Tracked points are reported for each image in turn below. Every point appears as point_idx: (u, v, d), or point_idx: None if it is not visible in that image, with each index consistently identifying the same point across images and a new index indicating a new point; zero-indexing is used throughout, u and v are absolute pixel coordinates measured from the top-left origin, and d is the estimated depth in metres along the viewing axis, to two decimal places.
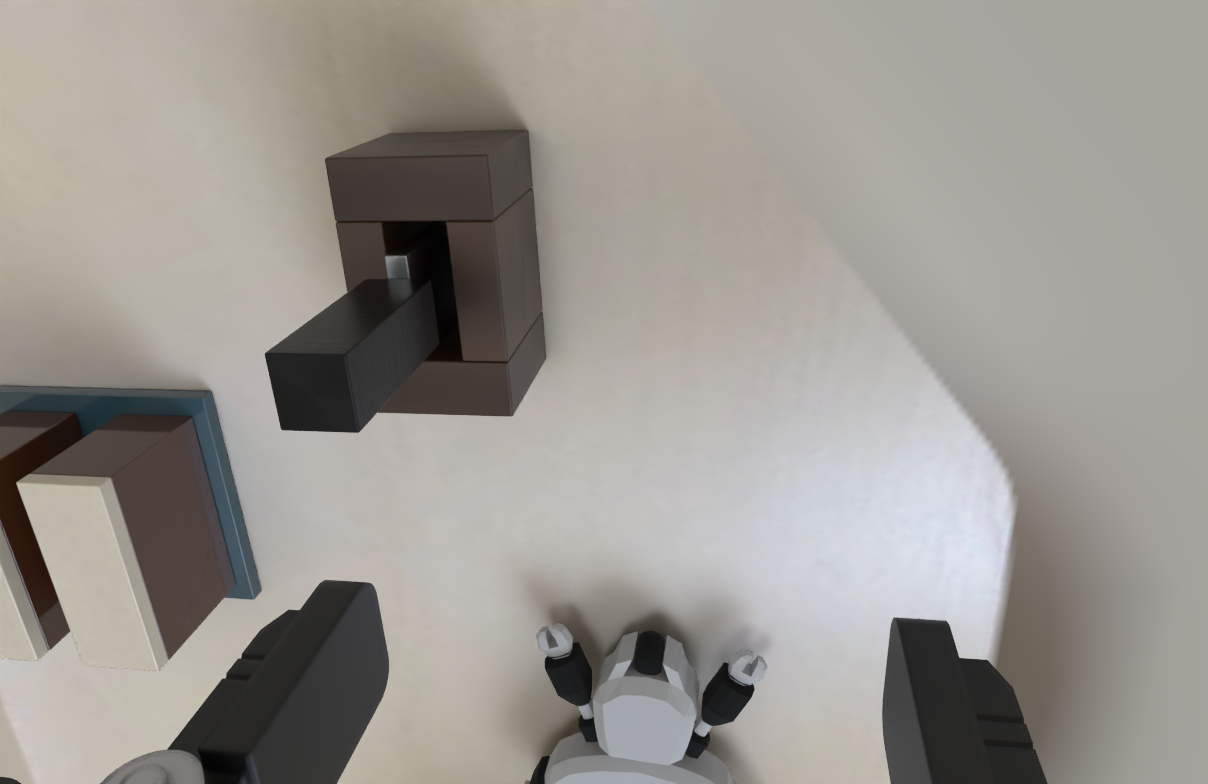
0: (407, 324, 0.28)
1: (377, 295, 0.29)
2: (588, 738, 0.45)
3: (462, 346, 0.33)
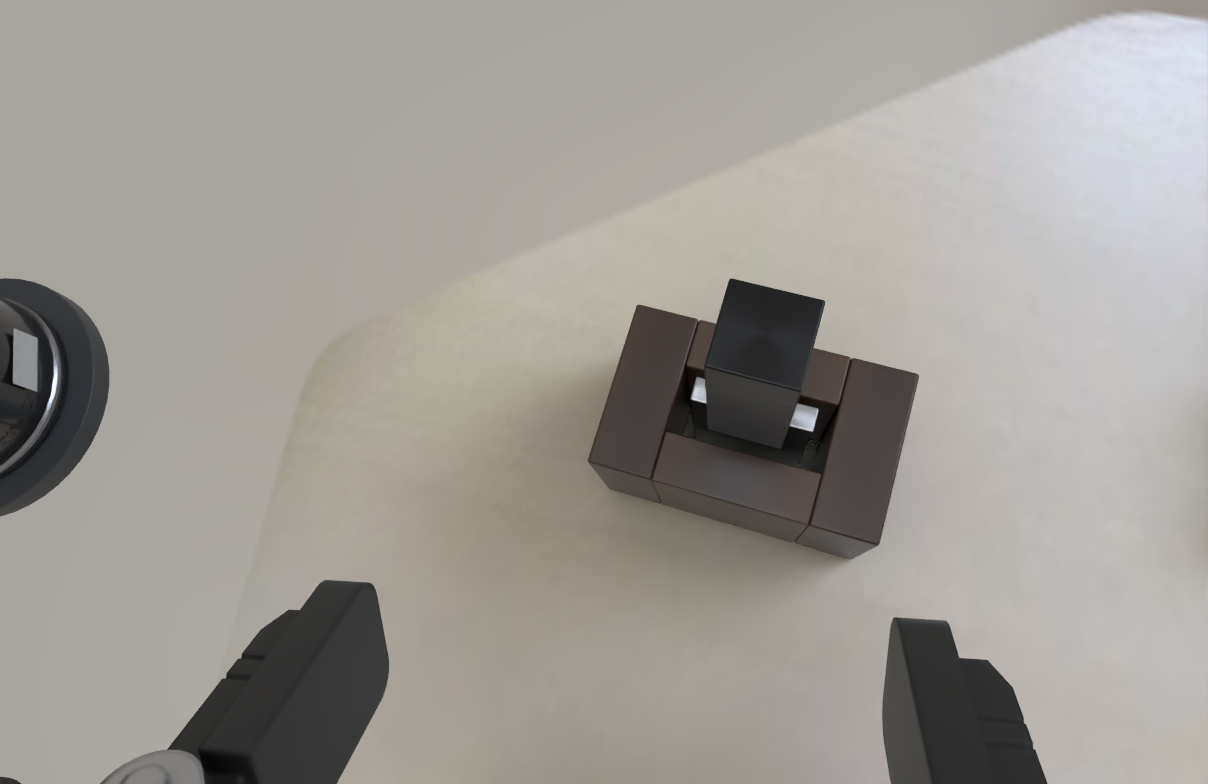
0: None
1: None
2: None
3: (821, 398, 0.30)
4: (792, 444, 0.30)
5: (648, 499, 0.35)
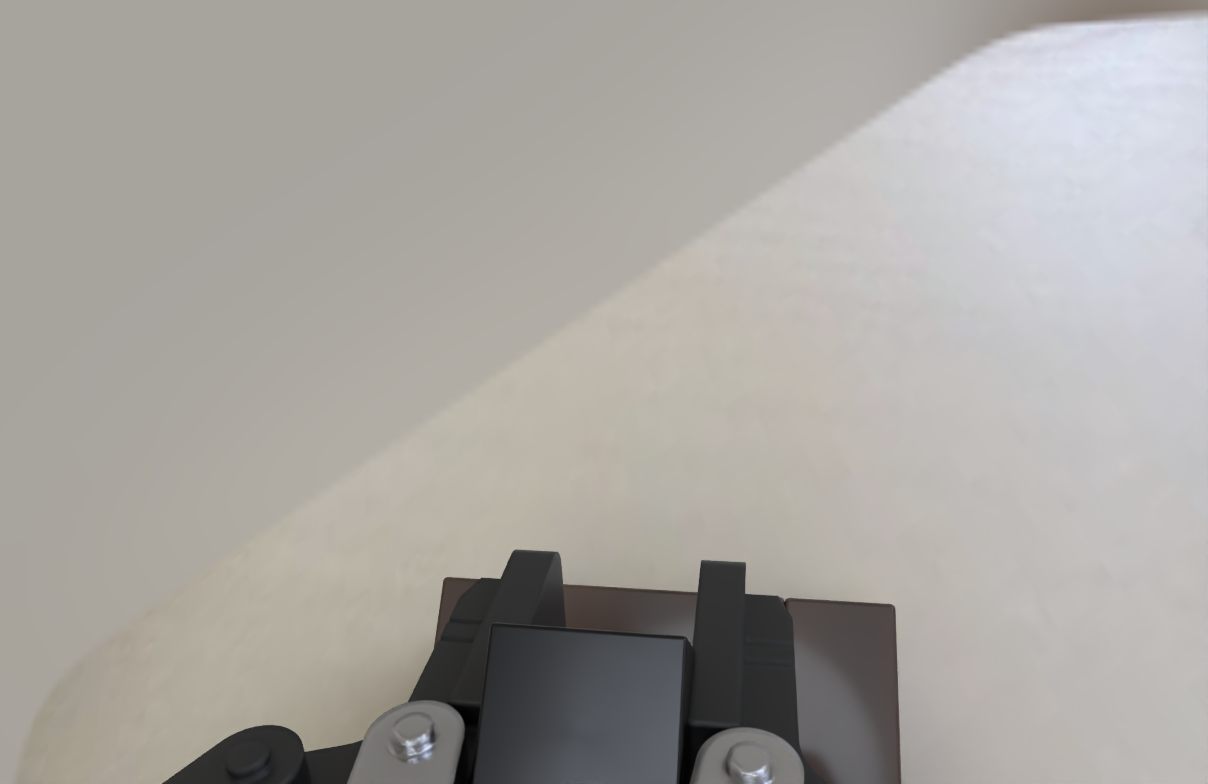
0: None
1: None
2: None
3: None
4: None
5: None
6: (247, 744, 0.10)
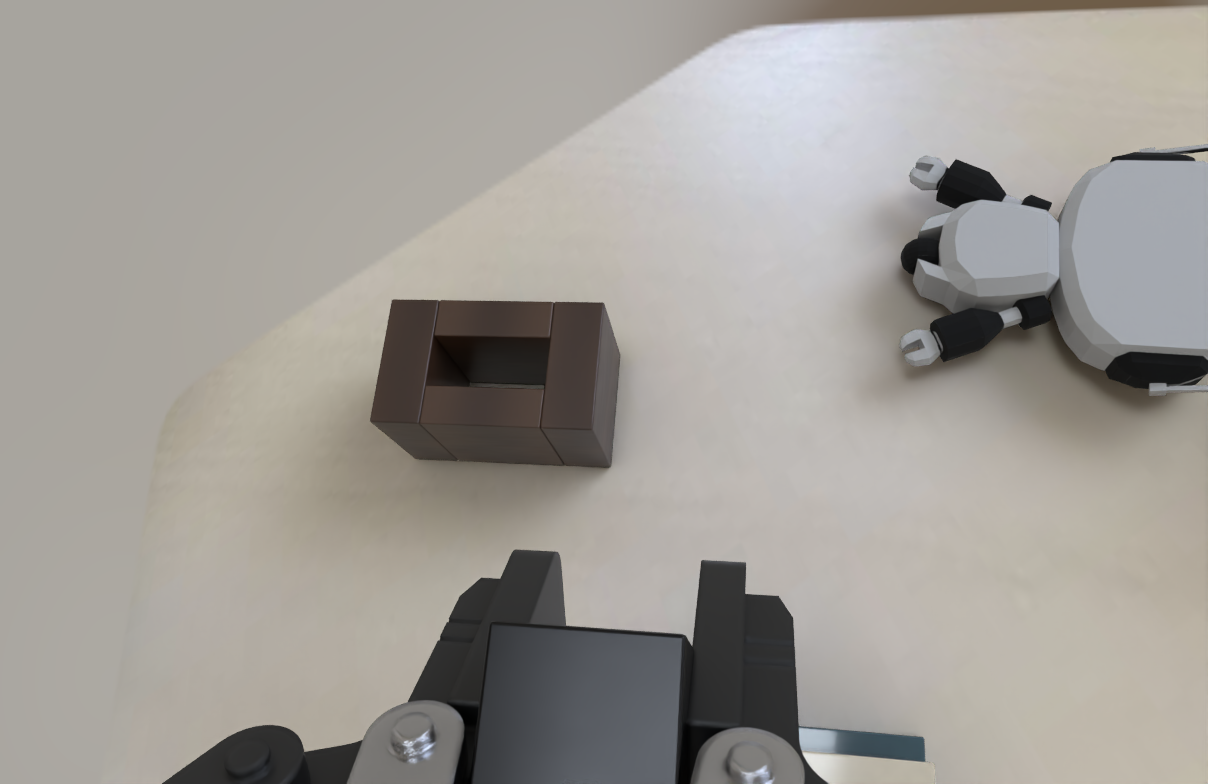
0: None
1: None
2: (1044, 308, 0.39)
3: (536, 335, 0.39)
4: None
5: (446, 459, 0.44)
6: (246, 743, 0.10)
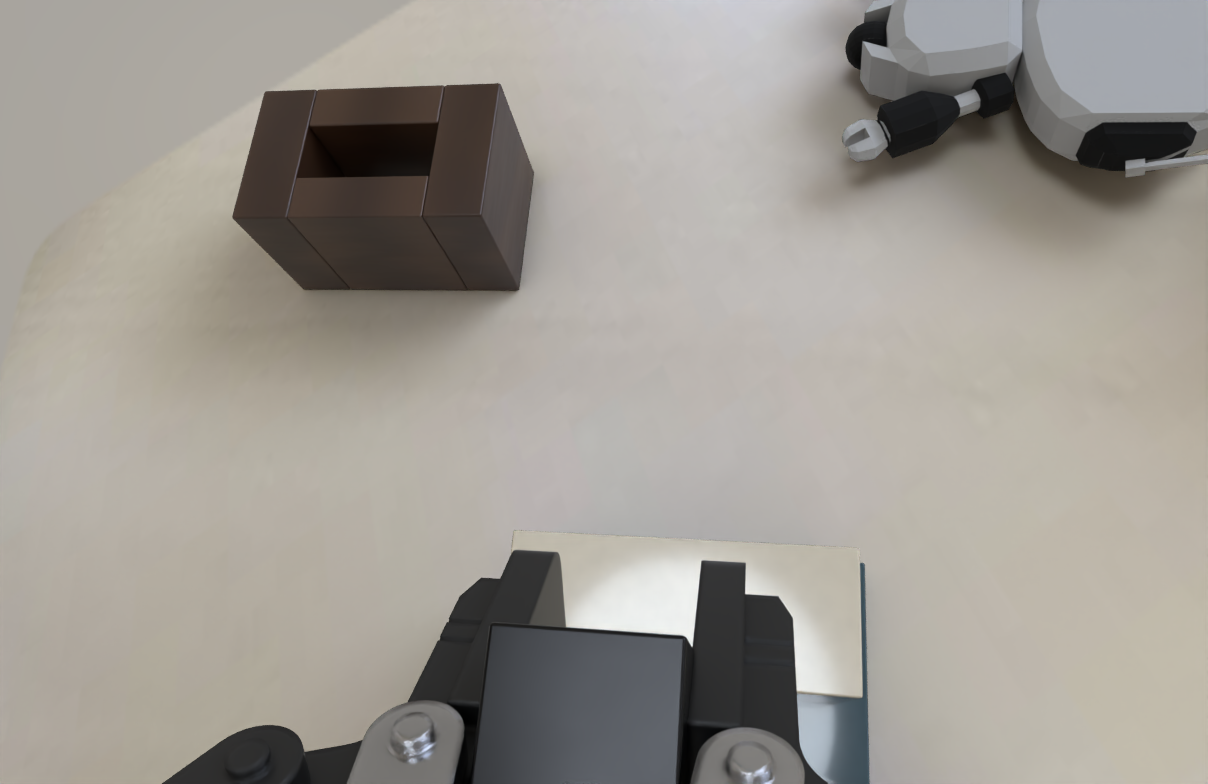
0: None
1: None
2: (1005, 86, 0.34)
3: (422, 120, 0.34)
4: None
5: (336, 286, 0.39)
6: (246, 743, 0.10)
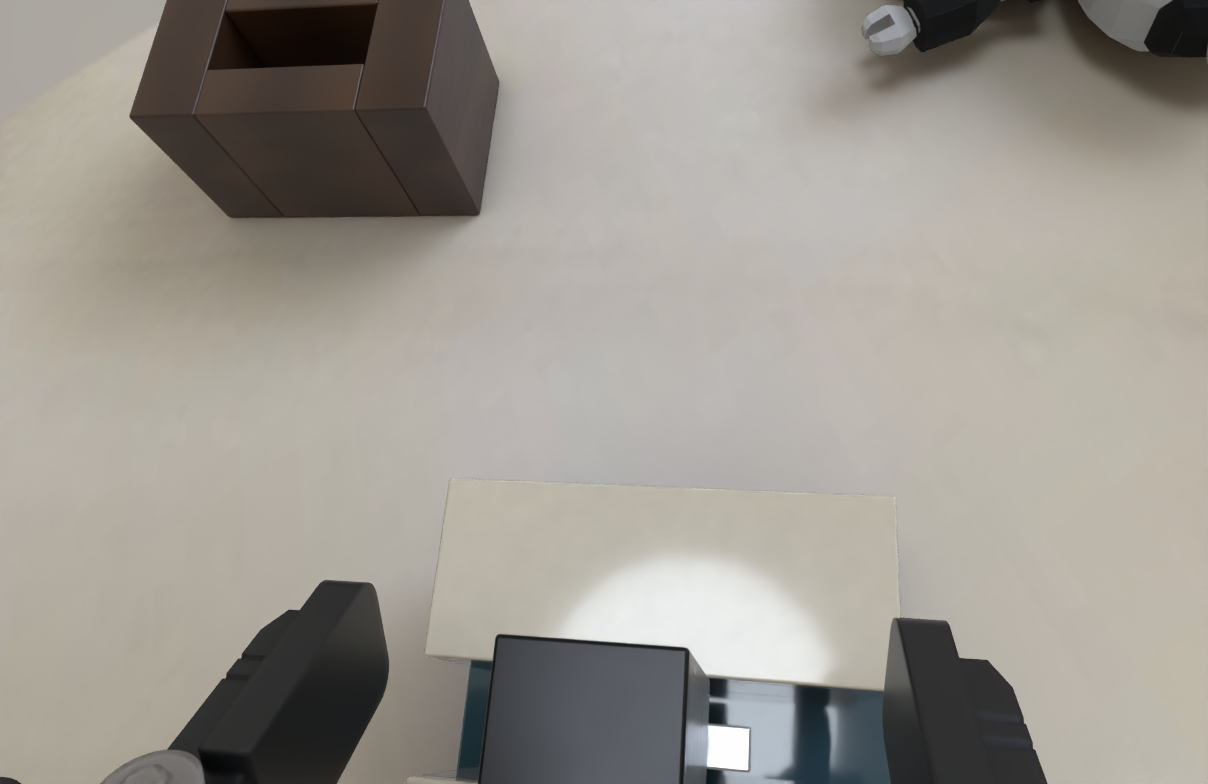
0: None
1: None
2: None
3: (359, 1, 0.28)
4: None
5: (266, 212, 0.33)
6: None
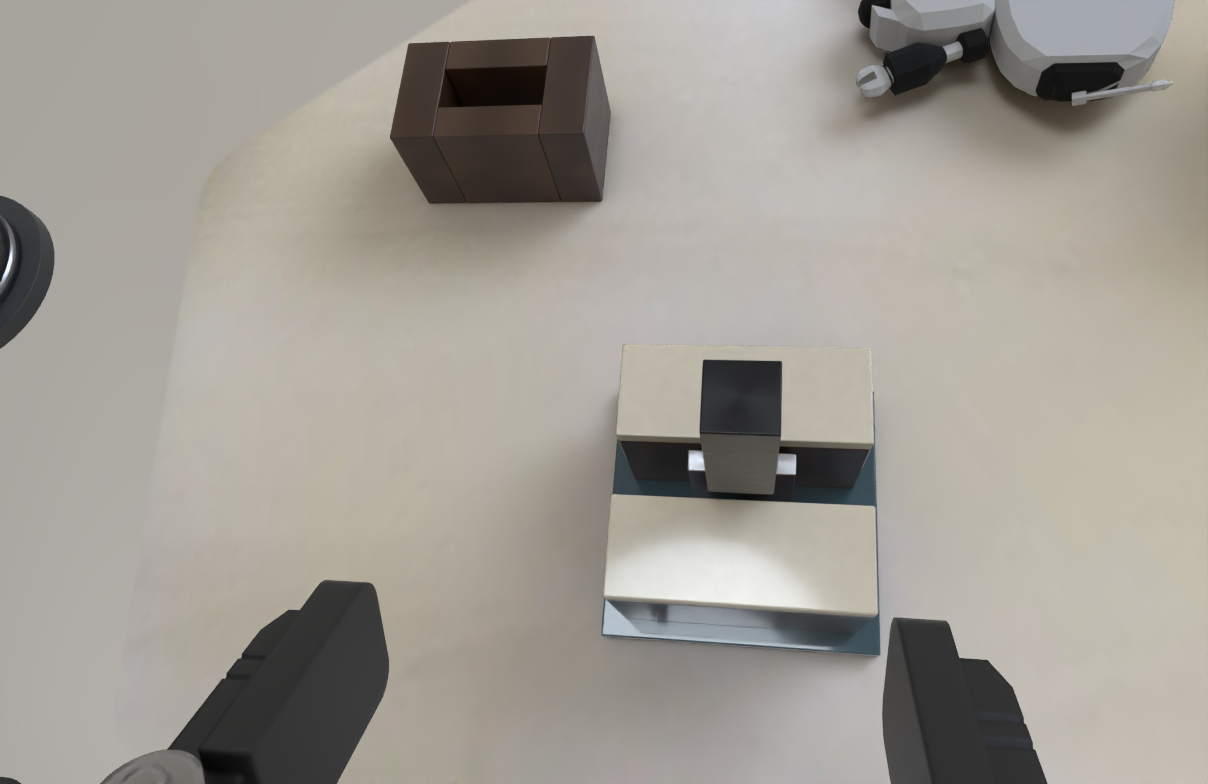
0: None
1: None
2: (981, 38, 0.45)
3: (534, 64, 0.45)
4: (781, 491, 0.35)
5: (456, 200, 0.49)
6: None
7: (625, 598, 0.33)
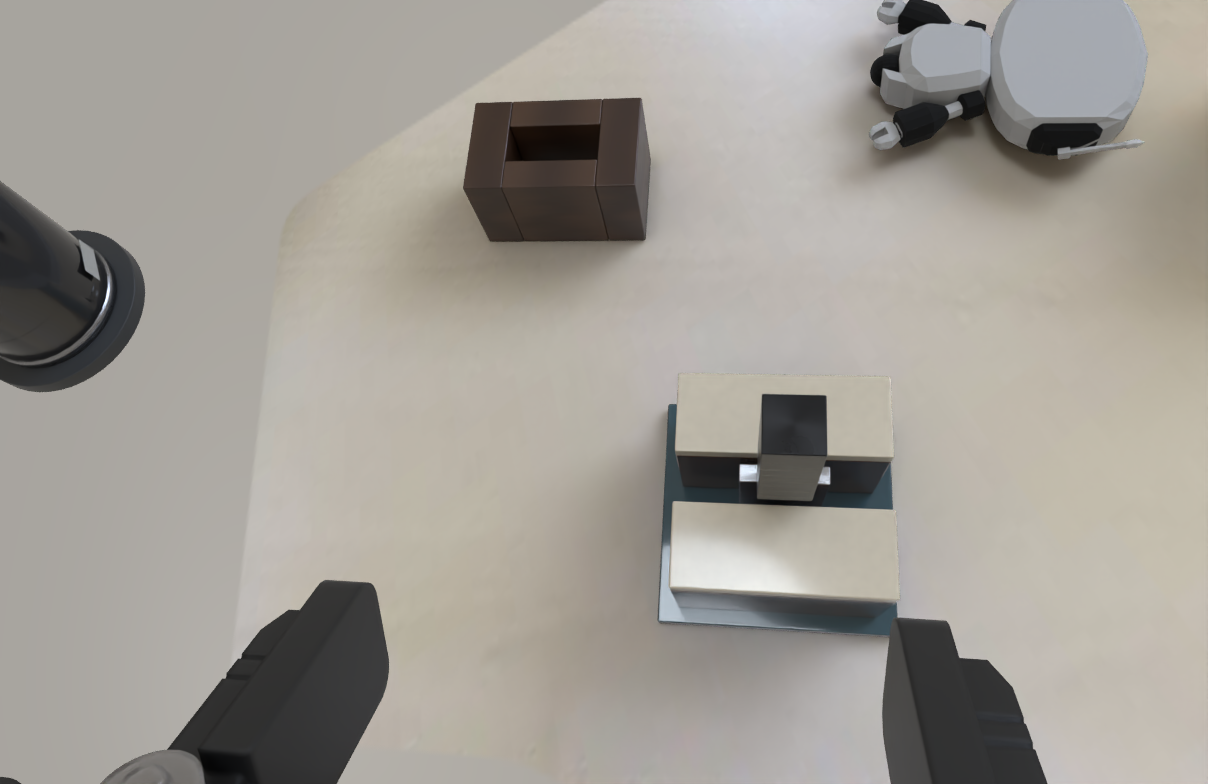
0: None
1: None
2: (979, 99, 0.51)
3: (589, 123, 0.51)
4: (815, 497, 0.41)
5: (515, 238, 0.56)
6: None
7: (688, 588, 0.39)
